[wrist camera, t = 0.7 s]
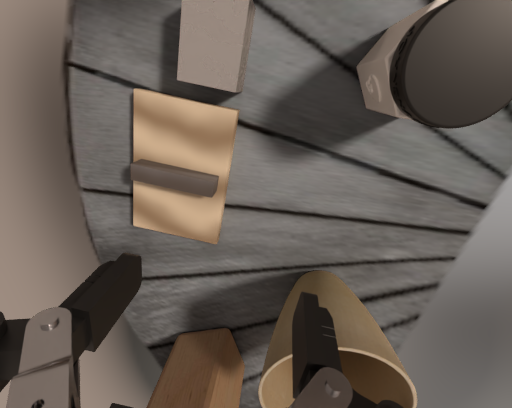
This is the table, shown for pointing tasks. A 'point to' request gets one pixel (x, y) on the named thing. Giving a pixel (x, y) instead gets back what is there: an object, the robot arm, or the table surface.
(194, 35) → the notched grey block
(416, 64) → the jar
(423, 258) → the table surface
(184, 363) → the wooden block
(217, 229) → the stand
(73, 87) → the table surface
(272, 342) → the plant pot
